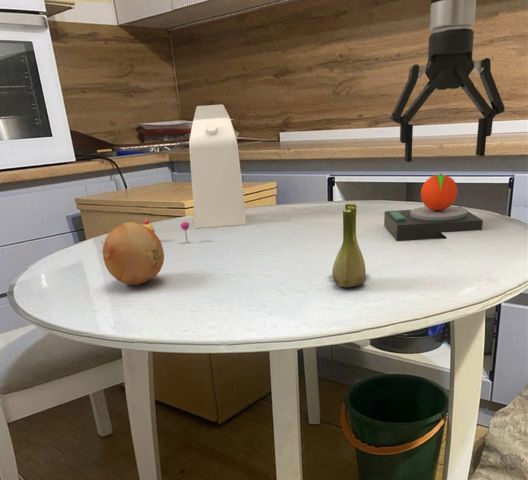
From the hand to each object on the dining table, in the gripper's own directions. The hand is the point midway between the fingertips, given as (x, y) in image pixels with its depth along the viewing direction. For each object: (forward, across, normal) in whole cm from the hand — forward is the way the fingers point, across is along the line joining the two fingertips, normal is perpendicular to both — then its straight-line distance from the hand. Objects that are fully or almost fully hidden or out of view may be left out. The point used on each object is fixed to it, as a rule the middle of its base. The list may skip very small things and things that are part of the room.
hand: (443, 158), depth 102 cm
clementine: (+10, 0, 0) cm, 10 cm away
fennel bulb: (+14, +22, +32) cm, 41 cm away
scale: (+14, +2, 0) cm, 14 cm away
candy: (+13, +61, -2) cm, 62 cm away
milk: (+13, +47, -22) cm, 54 cm away
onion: (+14, +56, +25) cm, 63 cm away
